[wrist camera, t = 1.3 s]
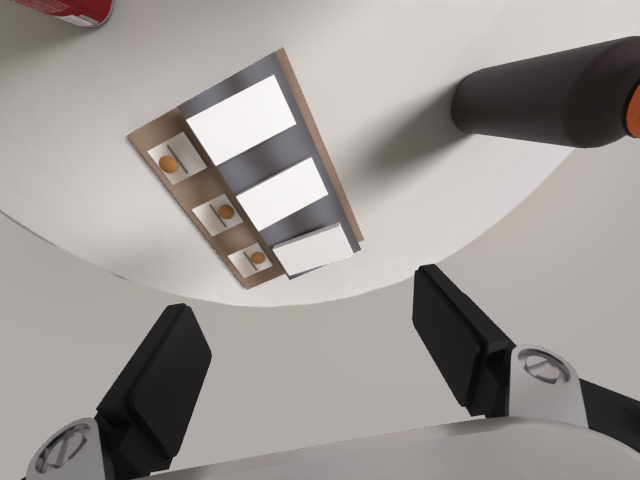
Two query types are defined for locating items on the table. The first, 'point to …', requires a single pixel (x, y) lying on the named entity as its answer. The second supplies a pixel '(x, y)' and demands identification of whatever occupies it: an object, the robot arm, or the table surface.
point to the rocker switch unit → (245, 175)
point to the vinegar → (557, 97)
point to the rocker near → (242, 120)
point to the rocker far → (313, 249)
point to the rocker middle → (283, 194)
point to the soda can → (73, 10)
